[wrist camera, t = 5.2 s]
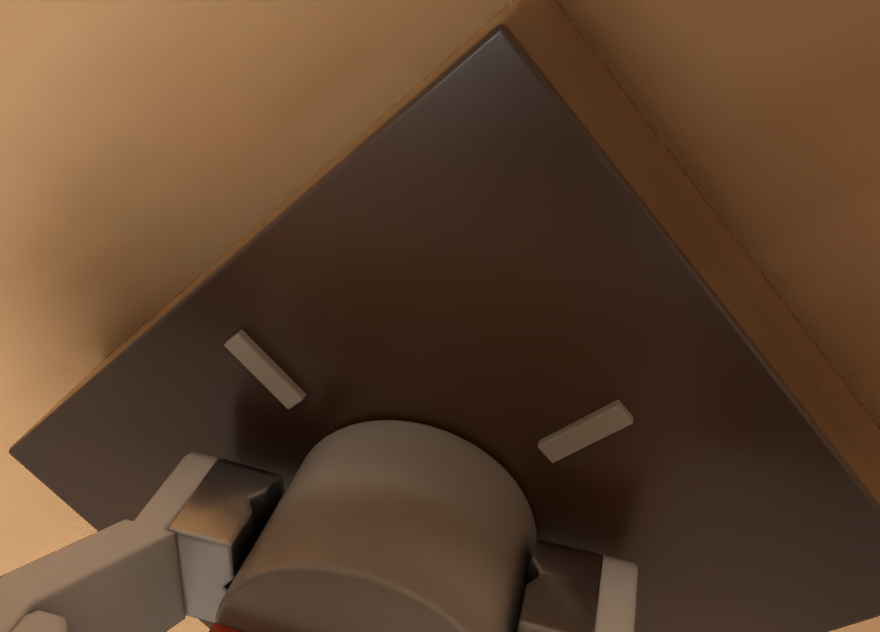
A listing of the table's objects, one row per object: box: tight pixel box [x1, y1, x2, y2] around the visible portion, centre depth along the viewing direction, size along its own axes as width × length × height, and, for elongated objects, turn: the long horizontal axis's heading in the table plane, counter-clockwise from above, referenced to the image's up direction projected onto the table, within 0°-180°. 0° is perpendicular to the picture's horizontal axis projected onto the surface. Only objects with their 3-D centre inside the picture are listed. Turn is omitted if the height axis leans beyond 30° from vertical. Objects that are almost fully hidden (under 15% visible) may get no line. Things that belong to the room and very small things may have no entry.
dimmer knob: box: [209, 420, 537, 632], centre depth 12 cm, size 4×4×3 cm
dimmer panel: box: [9, 0, 880, 632], centre depth 15 cm, size 12×10×3 cm
